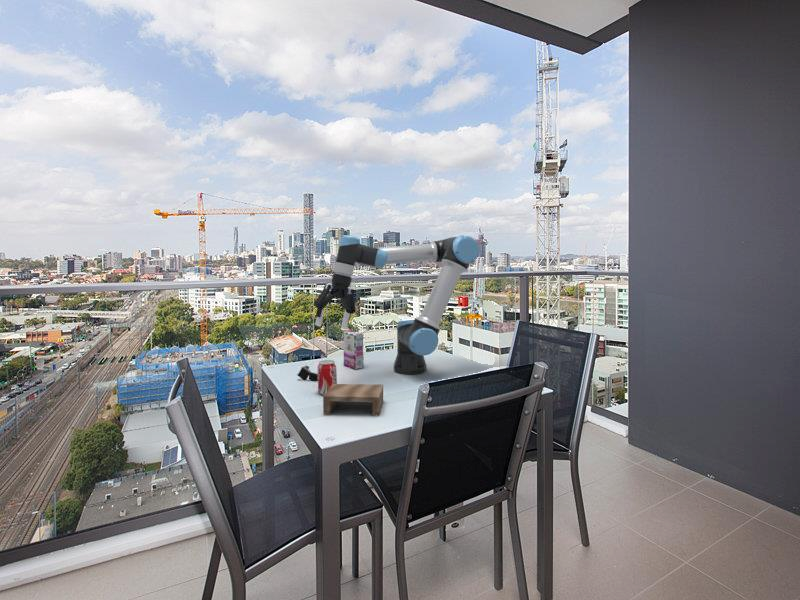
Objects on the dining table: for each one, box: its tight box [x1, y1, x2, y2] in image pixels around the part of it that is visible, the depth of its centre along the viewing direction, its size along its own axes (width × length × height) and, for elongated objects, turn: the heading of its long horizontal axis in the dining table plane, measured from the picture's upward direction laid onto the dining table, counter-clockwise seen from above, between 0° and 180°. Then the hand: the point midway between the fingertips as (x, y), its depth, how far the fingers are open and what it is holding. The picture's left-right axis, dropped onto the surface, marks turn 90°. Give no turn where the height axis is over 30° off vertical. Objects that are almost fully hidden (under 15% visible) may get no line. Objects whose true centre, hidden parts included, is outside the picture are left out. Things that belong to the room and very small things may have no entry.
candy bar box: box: [342, 331, 365, 371], centre depth 192 cm, size 11×5×16 cm, turn 37°
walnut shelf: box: [322, 383, 384, 417], centre depth 137 cm, size 18×14×6 cm
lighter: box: [296, 365, 318, 382], centre depth 171 cm, size 9×2×6 cm
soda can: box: [316, 359, 338, 396], centre depth 153 cm, size 7×7×12 cm
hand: (331, 327), depth 161 cm, fingers open, 13 cm apart
